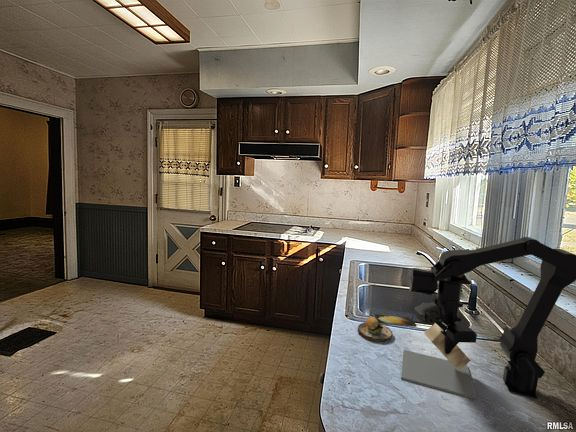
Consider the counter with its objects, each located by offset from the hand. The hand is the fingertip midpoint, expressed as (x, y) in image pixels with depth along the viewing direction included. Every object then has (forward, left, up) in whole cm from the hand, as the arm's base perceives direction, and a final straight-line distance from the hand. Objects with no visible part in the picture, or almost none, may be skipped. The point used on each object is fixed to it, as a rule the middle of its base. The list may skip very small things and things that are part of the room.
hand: (442, 348), depth 89 cm
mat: (+1, 0, -8) cm, 8 cm away
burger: (+20, -15, -8) cm, 26 cm away
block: (-5, -3, -4) cm, 7 cm away
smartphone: (+14, -29, -8) cm, 33 cm away
